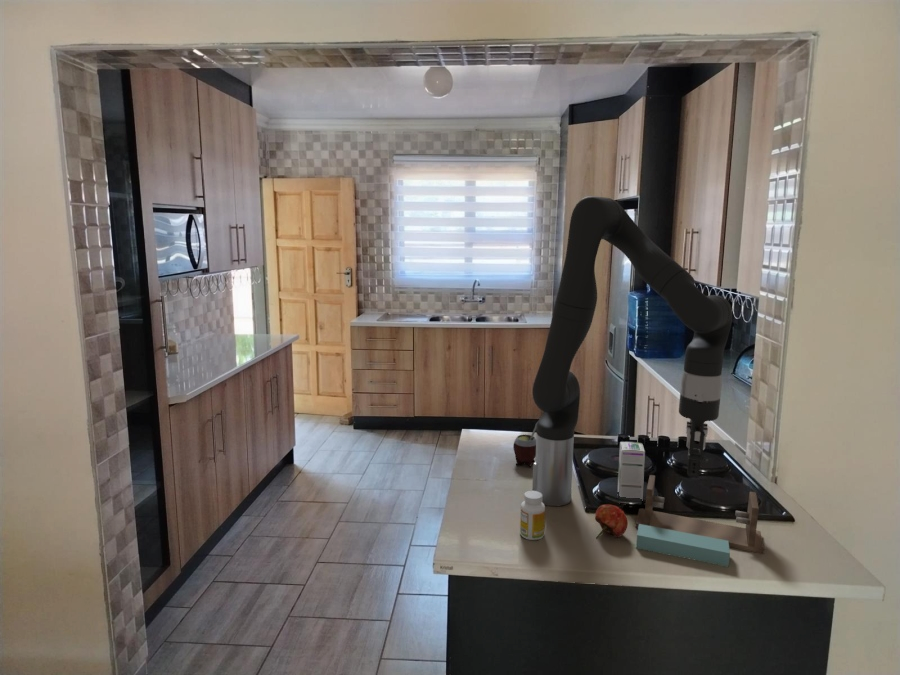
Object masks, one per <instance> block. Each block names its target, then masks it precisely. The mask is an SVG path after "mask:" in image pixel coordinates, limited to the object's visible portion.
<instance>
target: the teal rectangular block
mask: <svg viewBox="0 0 900 675" xmlns="http://www.w3.org/2000/svg"><path fill="white" fill-rule="evenodd" d="M635 546H636V548H635V549H638V550H642V549H643V550H644V551H647V550H648V551H649V552H652V551H653V553H657V552H659V553H658V554H662V553H664V554H663V555H667V554H670V555H669V556H672V555H675V556H674V557H677V556H680V557H679V558H682V557H685V558H684V559H686V558H690V559H689V560H691V559H695V560H694V561H696V560H699V561H698V562H701V561H704V562H703V563H706V562H709V563H708V564H711V563H714V564H713V565H716V564H718V565H717V566H721V565H723V566H722V567H726V566H727V568H729V565H730V555H731V552H730V551H731V550H730V547H729V542H728V541H727V540H722V539H716V538H711V537H706V536H701V535H695V534H690V533H685V532H679V531H674V530H669V529H664V528H658V527H653V526H648V525H642V524H639V527H638V528H637V532H636V544H635Z"/></svg>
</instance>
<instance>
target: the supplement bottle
mask: <svg viewBox="0 0 900 675" xmlns="http://www.w3.org/2000/svg"><path fill="white" fill-rule="evenodd" d="M545 523H546V506H545V504H543V503H542V494H541V493H540V492H538V491H532V490H528V491H525V492H524V495H523V501H522V502H521V504H520V521H519V524H520V526H519V528H520V529H519V533H520V535H521V537H523V538H524V539H526V540H528V541H537V540H541V539H543V537H544V536H545Z"/></svg>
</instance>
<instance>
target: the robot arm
mask: <svg viewBox="0 0 900 675" xmlns="http://www.w3.org/2000/svg"><path fill="white" fill-rule="evenodd" d="M570 216H571V217H570V220H569V221H570V222H569V228H568V237H567V245H566V254H565V258H564V263H563V267H562V272H561V277H560V282H559V285H558V286H559V287H558V289H557V290H558V291H557V293H556V297H555V301H554V306H553V310H552V314H551V315H552V316H551V321H550V325H549V329H548V330H549V331H548V334H547V338H546V343H545V346H544V352H543V355H542V358H541V360H540V364H539V366H538V370H537V372H536V375H535V379H534V382H533V384H532V398H533V401H534V404H535V405H536V407H537V408H538V409H539V410H540V411H542V414H541V416H540V418H539V419H538V421H537V422H538V423H537V422H536V423H537V428H536V435H535V436H536V437H535V439H536V456H535V462H534V463H532V464H533V465H532V486H531V489H532V490H531V491H538V492H540V493H541V494H542V503H543V504H544V505H546V506H550V507H551V506H552V507H561V506H565V505H567V504H569V503H570V502H571V499H572V484H573V466H574V465H573V463H574V461H573V460H574V441H575V440H574V439H575V438H574V437H575V430H576V427H577V424H578V420H579V409H580V399H581V387H580V383H579V379H578V378H577V376H576V375H575V374H574V373H573V372H571V367H572V363H573V360H575V359H574V358H575V356H576V354H577V353H578V351H579V349H580V347H581V345H582V344H583V342H584V341H585V339H586V337H587V335H588V333H589V331H590V329H591V325H592V323H593V319H594V315H595V311H596V308H597V307H596V306H597V303H598V302H597V301H598V290H597V289H598V287H597V281H596V280H597V279H596V272H595V271H596V270H595V265H596V260H597V255H598V252H599V251H598V250H599V246H600V244H601V242H602V240H604V241H605V242H607V243H610V244H611V245H612V246H614V247H615V248H617V249H618V250H619V251H621V252H622V253H623V254H624V255H625V257H627V259H628V260H629V261H630V263H631V264H632V266H633V268H634V269H635V272H636V273H637V274H638V276H639V277H640V278H641V279H642V280H643V281H644V282H645V284H646V285H648V286H649V287H650V288H651V289H652V290H653V291H654V292H656V294H658V295H659V296H660V297H661V298H662V299H663V300H664V301H666V302H667V304H668V306H669V307H670V309H672V311H673V313H674V314H675V315H676V317H677V318H678V319H679V320H680V322H682V324H684V325H685V326H686V327H687V328H688V329H690V330H692V331H693V332H694V333H693V337H692V340H691V341H690V343H688V345H687V346H686V349H685V353H684V363H683V373H682V377H681V382H680V392H679V401H678V402H679V405H678V414H679V415H681V417H683V418H684V419H689V421H686V427H685V428H686V430H685V433H686V448H687V450H688V452H687V460H688V463H687V472H686V473H687V476H688V477H689V478H690V477H691V478H695V479H696V478H699V477H700V470H701V462H702V461H703V460H704V459H703V458H704V457H703V452H704V450H705V449H706V440H707V439H706V438H707V436H708V430H709V428H708V423H705V422H712V421H716V420H718V418H719V415H720V405H721V404H720V403H721V395H722V384H723V383H722V372H723V362H724V353H725V352H724V351H725V348H726V346H727V342H728V338H729V334H730V331H731V328H732V321H733V309H732V305H731V304H730V302H729V301H728V300H727V299H726V298H725V297H723V296H722V295H719V294H718V295H717V294H712V295H711V294H710V295H706V294H704V293H703V292H702V291H701V289H699V288H698V287H697V286H696V284H695V278H694V276H692V274H690V272H689V271H687V269H685V268H684V267H683V266H681V265H680V264H679V263H678V262H677V261H675V260H674V259H673V258H672V257H670V255H668V253H666V252H664V251H663V250H662V249H661V248H660V247H659V246H658V245H657V244H656V243H654V242H653V241H652V240H651V239H650V238H649V237H648V235H646V234H645V233H644V231H643V230H642V229H641V228H640V227H639V226H638V225H637V224H636V222H635V221H634V220H633V219H632V217H631V216H630V215H629V214H628V212H627V211H626V210H625V209H624V207H622V206H621V204H619V202H617V201H616V200H615V199H613V198H610V197H604V196H603V197H602V196H592V195H590V196H585V197H583V198H581V199H580V200H579V201H578V202H577V203H576V204H575V206H574V208H573V209H572V213H571V215H570Z"/></svg>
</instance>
